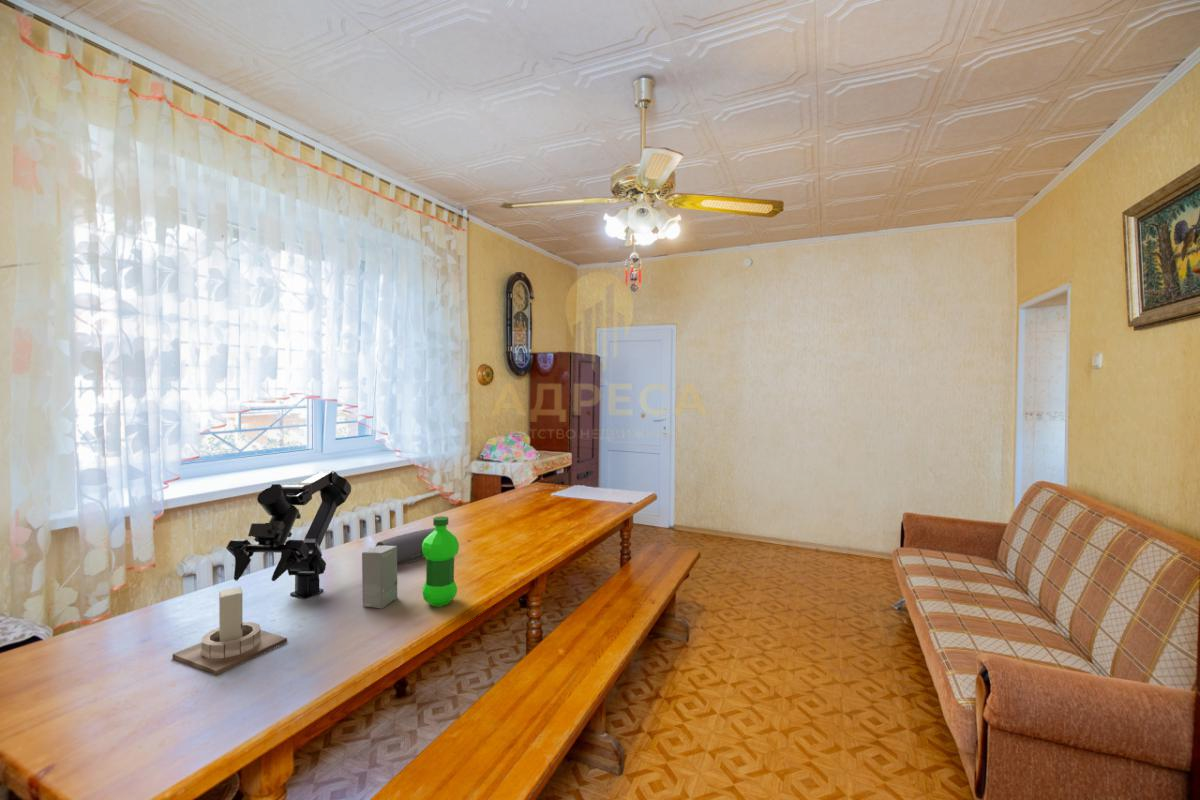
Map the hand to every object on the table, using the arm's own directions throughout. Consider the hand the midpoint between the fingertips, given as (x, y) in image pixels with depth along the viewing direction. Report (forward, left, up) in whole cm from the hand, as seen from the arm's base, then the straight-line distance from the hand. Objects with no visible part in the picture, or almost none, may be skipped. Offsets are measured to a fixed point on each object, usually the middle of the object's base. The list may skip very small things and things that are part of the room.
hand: (254, 580), depth 128 cm
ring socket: (+3, -7, -14) cm, 16 cm away
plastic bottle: (+29, +35, -14) cm, 47 cm away
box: (+3, -7, -13) cm, 15 cm away
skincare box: (+13, +28, -14) cm, 34 cm away
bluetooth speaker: (-5, +59, -14) cm, 61 cm away
